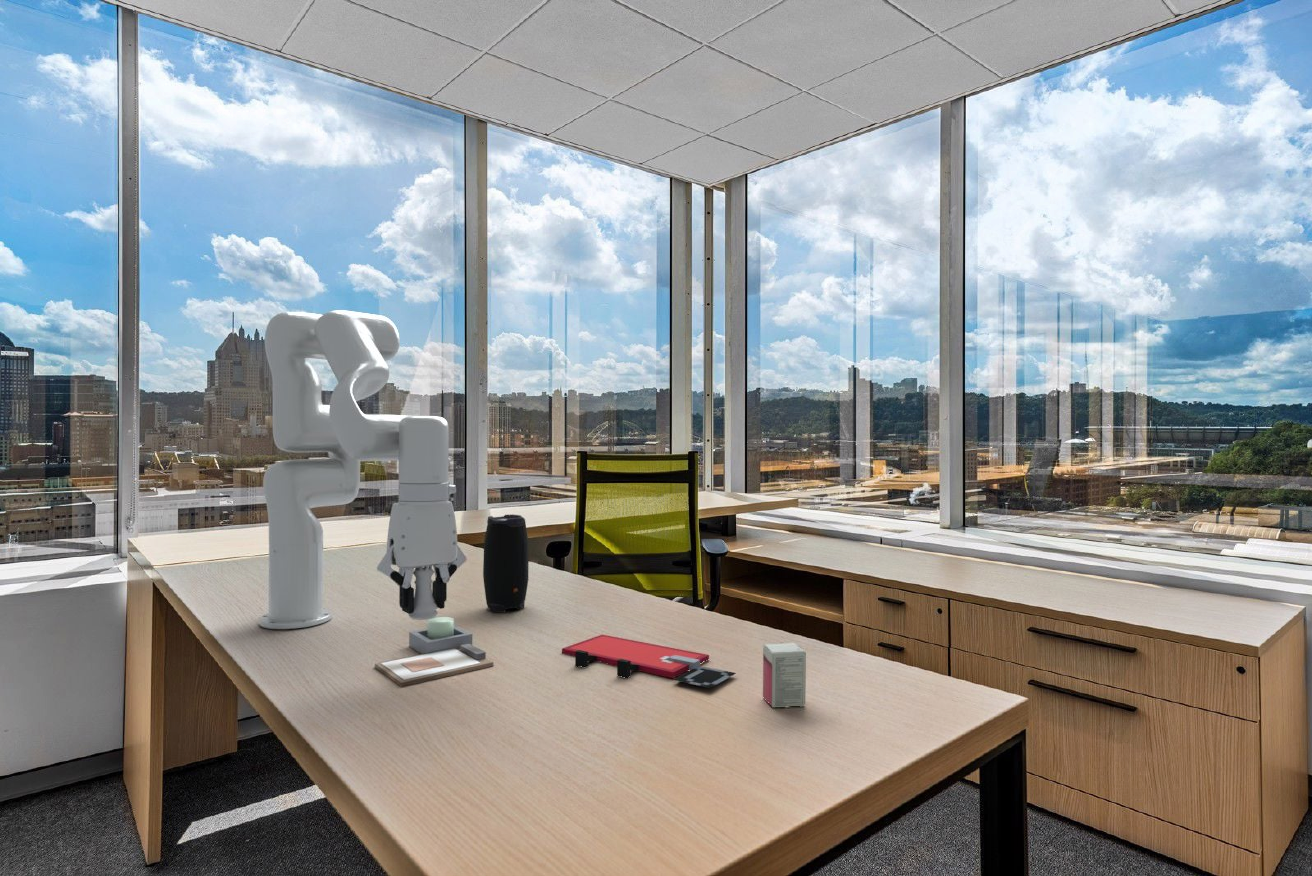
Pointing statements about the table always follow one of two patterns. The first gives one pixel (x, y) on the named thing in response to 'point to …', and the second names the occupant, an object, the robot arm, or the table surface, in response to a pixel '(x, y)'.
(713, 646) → the table surface
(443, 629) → the button
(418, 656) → the clipboard
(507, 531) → the portable speaker
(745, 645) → the table surface
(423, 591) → the rook chess piece
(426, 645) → the button housing
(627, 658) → the red board with handle
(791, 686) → the small box
